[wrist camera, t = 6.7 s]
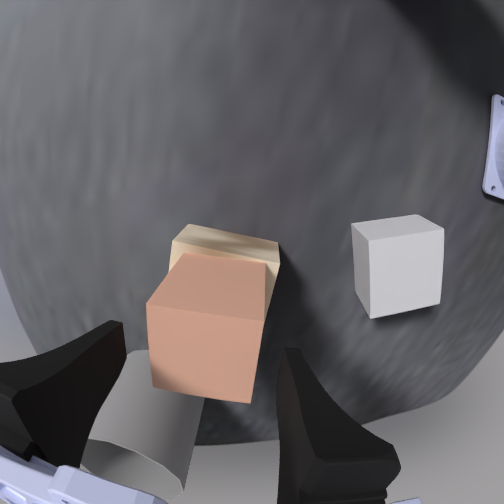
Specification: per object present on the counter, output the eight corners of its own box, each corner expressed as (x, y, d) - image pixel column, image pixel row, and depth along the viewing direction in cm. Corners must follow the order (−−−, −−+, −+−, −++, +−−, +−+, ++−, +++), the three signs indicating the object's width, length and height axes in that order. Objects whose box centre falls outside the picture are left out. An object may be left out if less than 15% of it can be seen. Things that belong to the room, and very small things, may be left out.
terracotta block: (265, 262, 17) (264, 320, 11) (255, 331, 18) (250, 403, 13) (183, 252, 17) (146, 303, 11) (182, 321, 18) (152, 387, 13)
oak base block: (277, 241, 21) (280, 263, 17) (258, 318, 23) (256, 350, 19) (189, 223, 21) (172, 240, 17) (179, 300, 23) (163, 329, 19)
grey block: (416, 214, 19) (444, 229, 16) (416, 279, 21) (439, 303, 17) (350, 222, 20) (368, 240, 16) (354, 290, 22) (370, 318, 18)
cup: (129, 333, 24) (75, 419, 14) (219, 376, 24) (199, 475, 15) (111, 391, 26) (71, 466, 17) (186, 426, 27) (164, 508, 18)
